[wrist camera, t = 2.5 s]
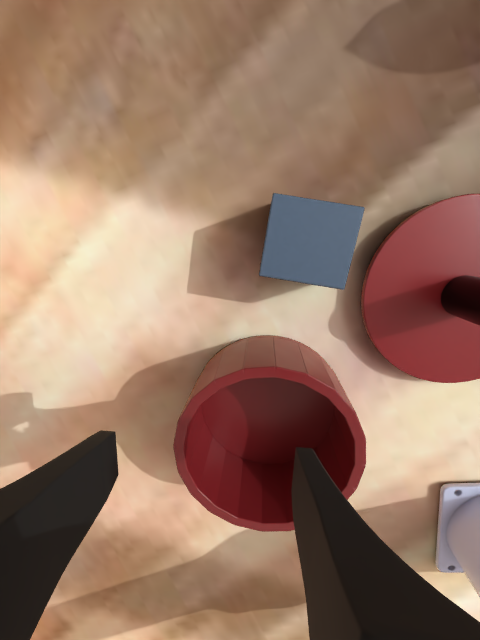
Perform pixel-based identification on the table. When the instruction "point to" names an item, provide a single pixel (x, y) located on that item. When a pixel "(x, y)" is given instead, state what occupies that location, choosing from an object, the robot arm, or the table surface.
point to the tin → (265, 430)
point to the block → (310, 240)
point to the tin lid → (428, 293)
